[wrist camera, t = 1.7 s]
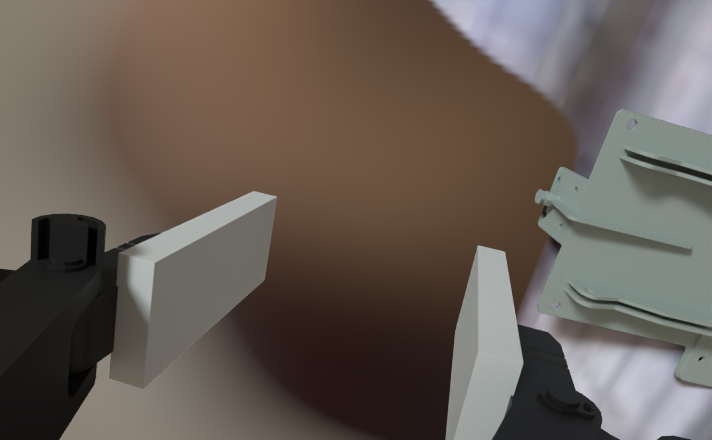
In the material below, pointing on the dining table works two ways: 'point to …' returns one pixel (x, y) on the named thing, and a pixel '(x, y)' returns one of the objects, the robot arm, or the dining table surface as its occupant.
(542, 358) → the robot arm
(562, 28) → the dining table surface
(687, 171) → the metal bracket
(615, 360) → the dining table surface
